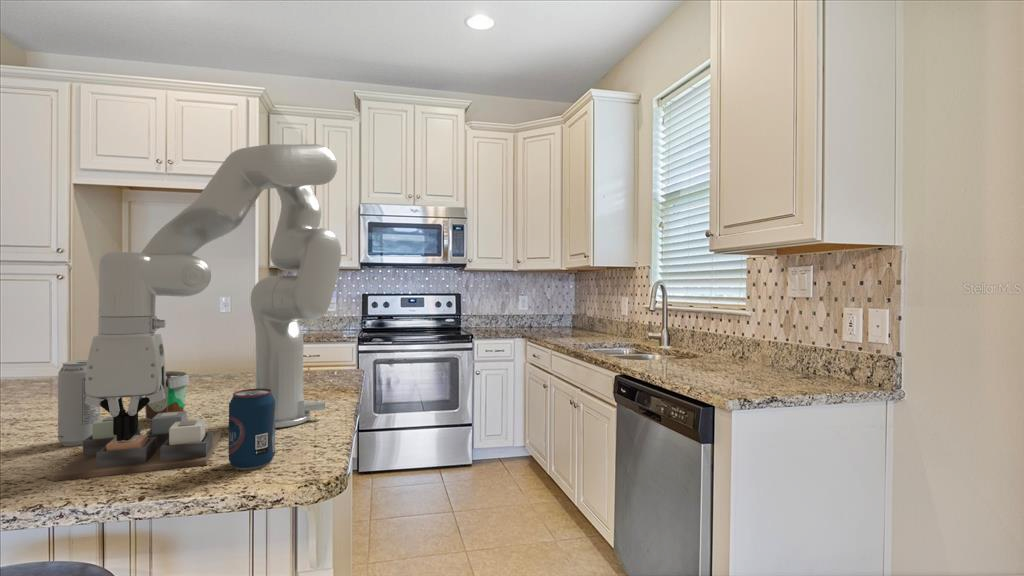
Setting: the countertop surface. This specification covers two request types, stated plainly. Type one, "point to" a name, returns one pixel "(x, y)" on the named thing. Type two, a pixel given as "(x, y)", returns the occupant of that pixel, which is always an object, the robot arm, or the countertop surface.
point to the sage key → (103, 428)
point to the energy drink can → (74, 405)
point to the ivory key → (187, 432)
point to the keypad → (138, 456)
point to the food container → (170, 395)
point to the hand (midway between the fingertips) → (125, 438)
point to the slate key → (167, 421)
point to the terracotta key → (128, 443)
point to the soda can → (251, 428)
